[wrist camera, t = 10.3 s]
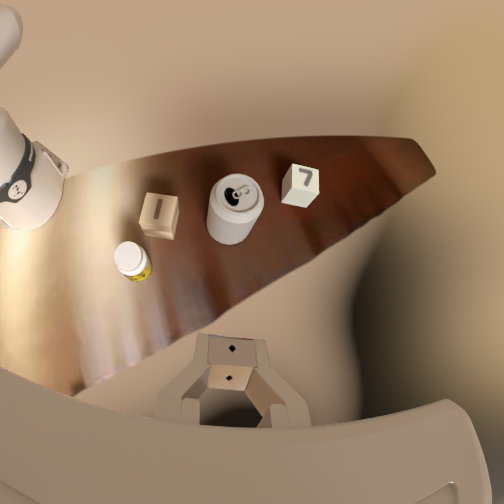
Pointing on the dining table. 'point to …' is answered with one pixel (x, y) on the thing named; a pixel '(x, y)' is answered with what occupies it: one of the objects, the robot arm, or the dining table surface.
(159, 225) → the birch block one
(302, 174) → the cream white block seven
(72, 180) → the dining table surface
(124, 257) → the supplement bottle
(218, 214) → the can
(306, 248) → the dining table surface
